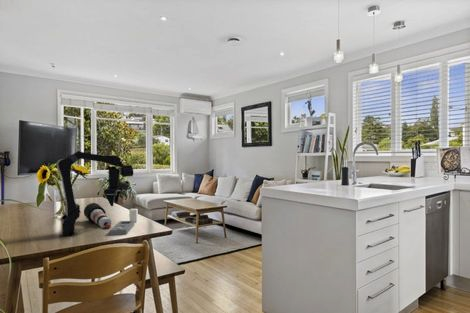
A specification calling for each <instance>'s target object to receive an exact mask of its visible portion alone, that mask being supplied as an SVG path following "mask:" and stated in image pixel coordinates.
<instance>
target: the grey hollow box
mask: <svg viewBox="0 0 470 313" xmlns="http://www.w3.org/2000/svg"><path fill="white" fill-rule="evenodd" d="M134 226H135V223H134V221H130V220H120V221H119V222H117V223H116V224H115V225H114V226H113V227H112V228H110V230H109V235H110V236H123V235H126V236H127V235H128V234H129V232H130V231H131V230H132V229H133V228H134Z"/></svg>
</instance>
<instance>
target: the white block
mask: <svg viewBox="0 0 470 313" xmlns="http://www.w3.org/2000/svg"><path fill="white" fill-rule="evenodd" d="M138 211H139V209H138V208H130V209H129V221H134V224H137V223H138V222H139V217H138V216H139V214H138V213H139V212H138Z"/></svg>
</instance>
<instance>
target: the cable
mask: <svg viewBox="0 0 470 313" xmlns="http://www.w3.org/2000/svg"><path fill="white" fill-rule="evenodd" d="M83 213H84V216H85V218H86V219H87V220H88V221H89V222H90V223H92V224H96V225H97V226H99V227H100V228H101V229H102V228H106V229H112V228H111V227H112V224H113V223H112V220H111V219H110V218H109V217H108V216H107V214H106V210H105V209H104V208H103V207H102V206H101V205H100V204H99V203H96V202H91V203H89V204H87V205H86V206H85V207H84V209H83Z"/></svg>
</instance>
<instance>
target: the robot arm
mask: <svg viewBox="0 0 470 313" xmlns="http://www.w3.org/2000/svg"><path fill="white" fill-rule="evenodd" d="M79 160H86V161H92V162H101V163H103V164H107V165H106V167H105V168H104V170H106V171H108V179H107V182H108V186H107V188H105V189H104V190H103V195H104V196H105V198H106V199H107V201H108V204H109V206H110V207H114V205H115V204H118V203H119V198H120V195H121V194H122V193H123V191H128V190H129V189H130V187H131V184H130V181H128V180H126V181H122V179H121V178H120V176H121V177H122V178H125V177H127V178H128V177H130V178H131V177H133V176H134V169H133V166H132V164H128V165H124V164H123V162H122V161H121V158H120V156H118V155H105V154H103V155H102V154H96V153H95V154H94V153H88V152H82V151H80V150H79V151H75V152H74V153H72V154H70V155H68V156H66V157H65V158H61V159H58V160H57V161H56V169H57V171H58V173H59V175H60V178H61V182H62V187H63V192H64V198H65V210H64V211H65V213H64V214H63V215H62V217H60V221H61V222H62V223H61V234H59V237H70V236H75V235H76V234H77V233H78V231H75V230H76V228H75V227H76V226H75V224H76V222H77V219H79V218H80V215H81V213H82V212H81V210H80V209H81V207H80V204H78V203H76V200H75V195H74V191H73V184H72V179H71V171H72V170H71V169H72V165H74V164H75V163H76V162H78V161H79ZM114 203H115V204H114Z"/></svg>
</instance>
